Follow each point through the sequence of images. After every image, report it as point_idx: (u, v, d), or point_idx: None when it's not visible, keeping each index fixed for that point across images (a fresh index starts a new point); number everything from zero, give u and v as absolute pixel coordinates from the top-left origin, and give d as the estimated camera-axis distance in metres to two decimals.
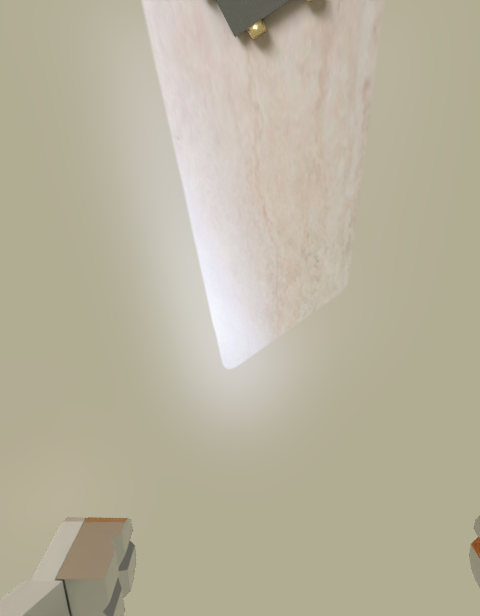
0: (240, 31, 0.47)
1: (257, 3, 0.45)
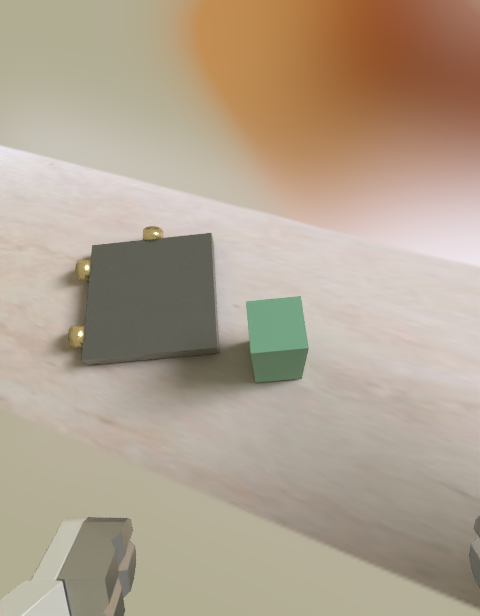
0: (93, 252, 0.41)
1: (105, 276, 0.40)
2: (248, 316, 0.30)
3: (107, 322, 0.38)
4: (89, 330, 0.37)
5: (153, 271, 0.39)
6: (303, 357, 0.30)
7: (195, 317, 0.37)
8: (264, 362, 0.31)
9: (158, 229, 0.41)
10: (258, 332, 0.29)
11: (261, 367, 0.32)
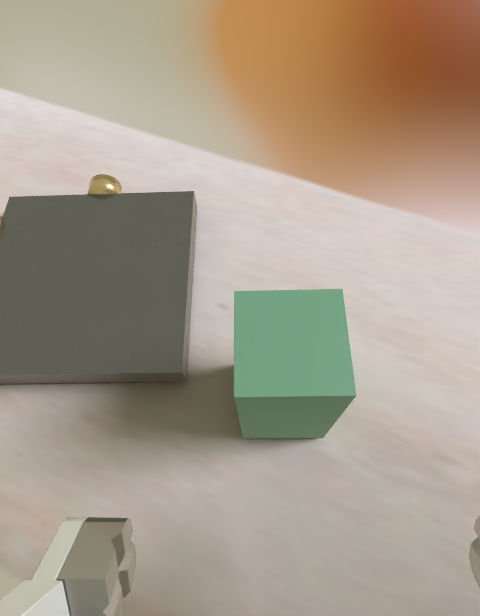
0: (9, 206, 0.26)
1: (19, 243, 0.25)
2: (236, 320, 0.15)
3: (7, 315, 0.23)
4: None
5: (95, 241, 0.25)
6: (338, 410, 0.15)
7: (152, 318, 0.22)
8: (261, 412, 0.16)
9: (113, 180, 0.27)
10: (254, 354, 0.14)
11: (254, 420, 0.17)
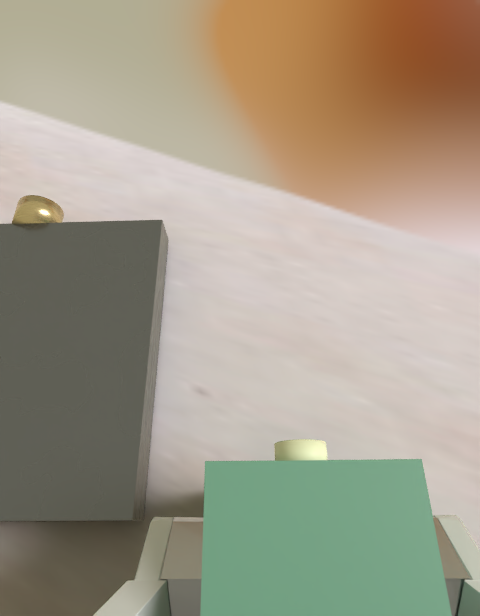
0: None
1: None
2: (207, 534, 0.07)
3: None
4: None
5: (16, 295, 0.17)
6: None
7: (90, 423, 0.15)
8: None
9: (49, 203, 0.19)
10: None
11: None
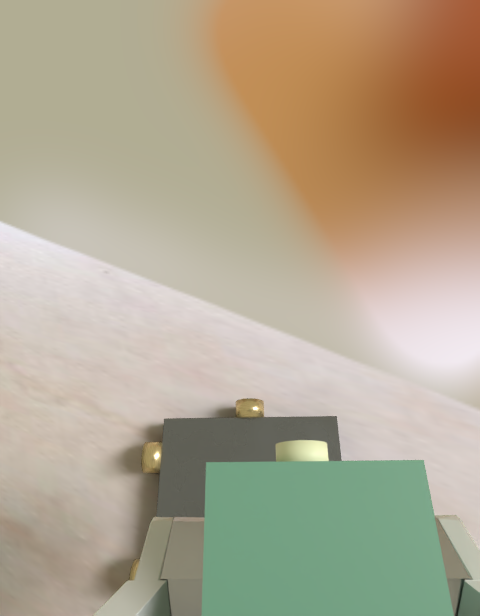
0: (166, 430, 0.29)
1: (182, 475, 0.27)
2: (208, 536, 0.07)
3: None
4: None
5: None
6: None
7: None
8: None
9: (259, 402, 0.29)
10: None
11: None
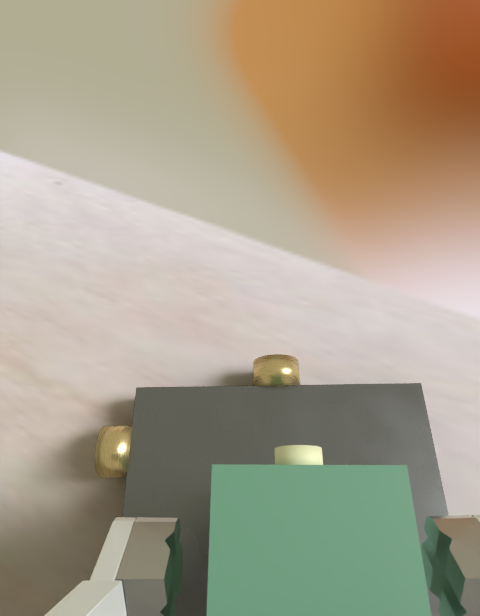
0: (138, 406, 0.17)
1: (165, 481, 0.16)
2: (213, 530, 0.08)
3: None
4: None
5: None
6: None
7: None
8: None
9: (293, 361, 0.18)
10: (245, 613, 0.07)
11: None
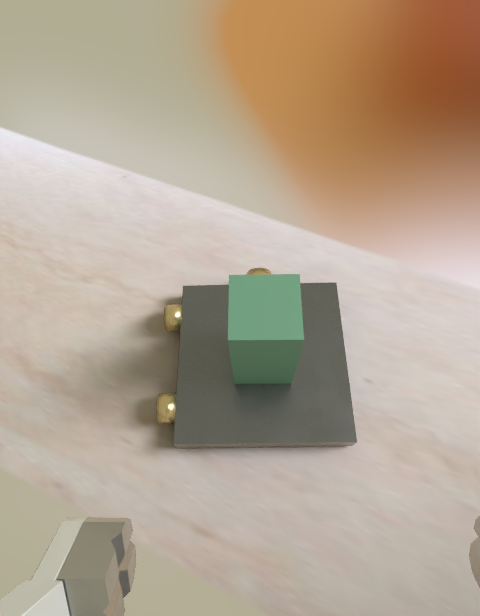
0: (184, 295, 0.32)
1: (201, 328, 0.31)
2: (230, 293, 0.23)
3: (206, 393, 0.29)
4: (182, 402, 0.28)
5: None
6: (296, 353, 0.23)
7: (324, 396, 0.28)
8: (246, 355, 0.24)
9: (268, 272, 0.33)
10: (241, 314, 0.22)
11: (242, 363, 0.25)
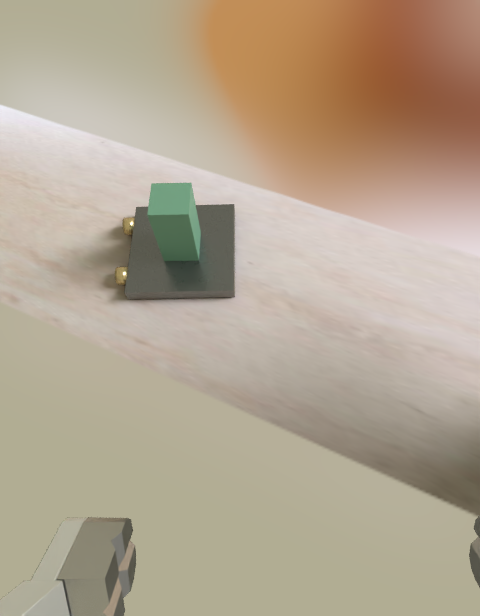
0: (137, 212, 0.50)
1: (145, 231, 0.49)
2: (151, 192, 0.41)
3: (146, 266, 0.47)
4: (131, 271, 0.46)
5: None
6: (189, 227, 0.41)
7: (217, 267, 0.46)
8: (161, 230, 0.42)
9: None
10: (156, 202, 0.40)
11: (161, 237, 0.43)
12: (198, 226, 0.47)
